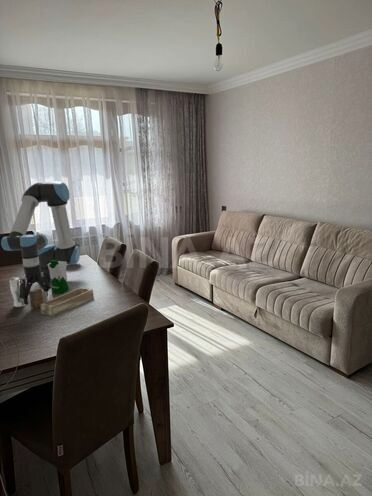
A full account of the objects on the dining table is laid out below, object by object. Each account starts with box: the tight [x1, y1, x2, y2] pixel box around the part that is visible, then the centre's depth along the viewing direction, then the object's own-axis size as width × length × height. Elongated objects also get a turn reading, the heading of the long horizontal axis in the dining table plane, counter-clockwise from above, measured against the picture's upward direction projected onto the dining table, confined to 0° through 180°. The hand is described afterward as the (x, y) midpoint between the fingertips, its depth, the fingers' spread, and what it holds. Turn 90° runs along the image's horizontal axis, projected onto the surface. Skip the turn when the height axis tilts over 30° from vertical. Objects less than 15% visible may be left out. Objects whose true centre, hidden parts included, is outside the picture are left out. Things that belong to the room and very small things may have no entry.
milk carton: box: [47, 260, 70, 295], centre depth 203 cm, size 9×9×20 cm
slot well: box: [40, 286, 95, 317], centre depth 184 cm, size 9×27×5 cm, turn 150°
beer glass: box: [9, 276, 26, 308], centre depth 185 cm, size 7×7×15 cm
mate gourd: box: [66, 237, 81, 269], centre depth 260 cm, size 16×14×20 cm
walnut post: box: [28, 288, 44, 312], centre depth 180 cm, size 4×4×10 cm
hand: (37, 306), depth 181 cm, fingers open, 10 cm apart
